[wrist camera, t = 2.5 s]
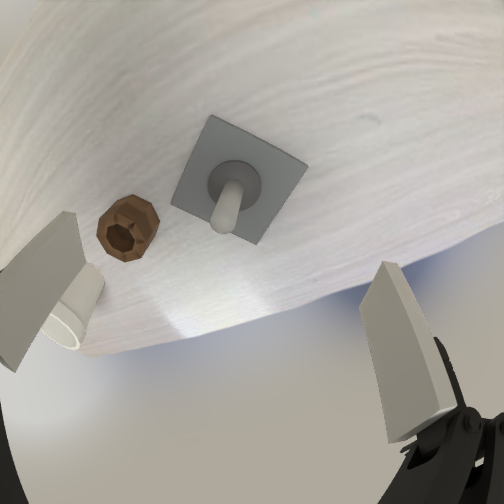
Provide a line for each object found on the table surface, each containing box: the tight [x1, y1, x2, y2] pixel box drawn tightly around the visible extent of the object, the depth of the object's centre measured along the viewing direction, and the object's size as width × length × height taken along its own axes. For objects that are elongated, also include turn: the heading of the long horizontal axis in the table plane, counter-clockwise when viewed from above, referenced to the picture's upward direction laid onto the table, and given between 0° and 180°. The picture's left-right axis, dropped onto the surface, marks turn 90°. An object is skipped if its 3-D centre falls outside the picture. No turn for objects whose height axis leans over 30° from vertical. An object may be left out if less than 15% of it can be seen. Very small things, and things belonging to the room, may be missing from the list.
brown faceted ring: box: [96, 195, 160, 262], centre depth 33 cm, size 7×7×5 cm
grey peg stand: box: [171, 115, 308, 245], centre depth 27 cm, size 12×12×10 cm
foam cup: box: [40, 262, 105, 350], centre depth 37 cm, size 10×9×13 cm
